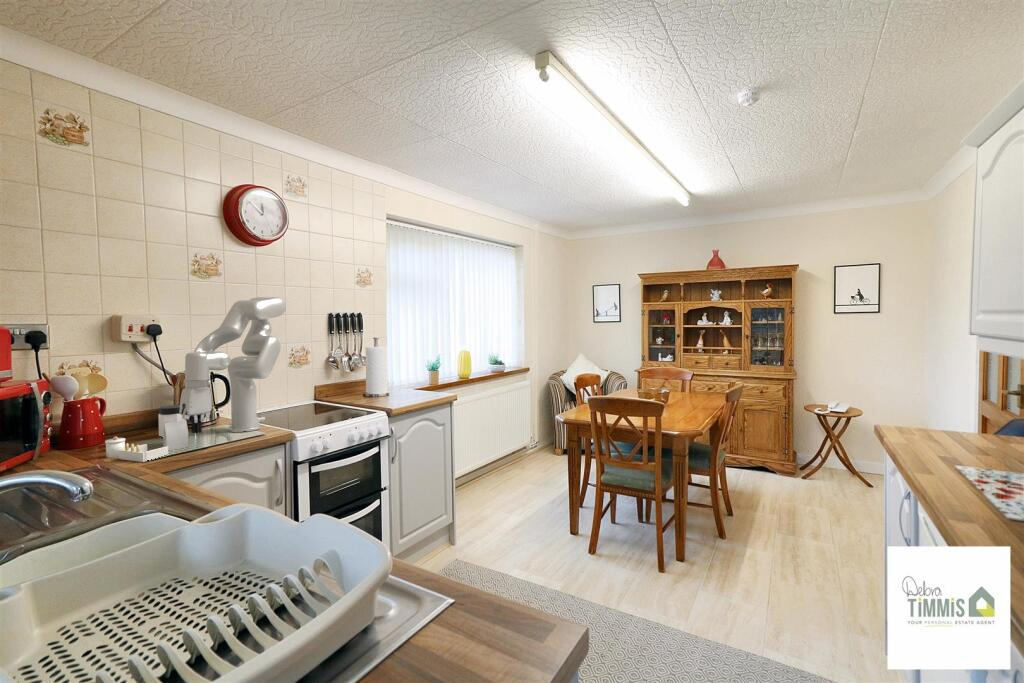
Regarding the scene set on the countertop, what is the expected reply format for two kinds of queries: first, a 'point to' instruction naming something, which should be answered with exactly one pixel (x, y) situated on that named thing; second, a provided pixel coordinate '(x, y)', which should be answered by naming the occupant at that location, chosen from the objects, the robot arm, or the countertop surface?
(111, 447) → the sugar pot
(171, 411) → the jar
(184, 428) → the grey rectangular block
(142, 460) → the header block
